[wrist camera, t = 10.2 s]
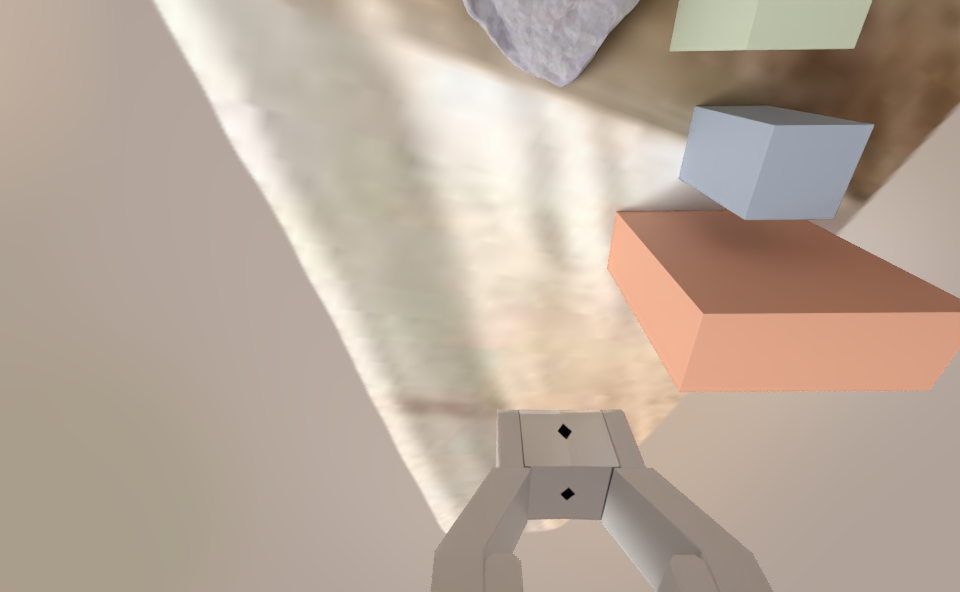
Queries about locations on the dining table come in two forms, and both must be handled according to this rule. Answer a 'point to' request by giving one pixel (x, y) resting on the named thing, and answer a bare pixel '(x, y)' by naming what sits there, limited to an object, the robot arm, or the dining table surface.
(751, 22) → the sage-green block
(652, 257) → the terracotta block
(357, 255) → the dining table surface
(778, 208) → the slate-blue block
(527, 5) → the stone block
